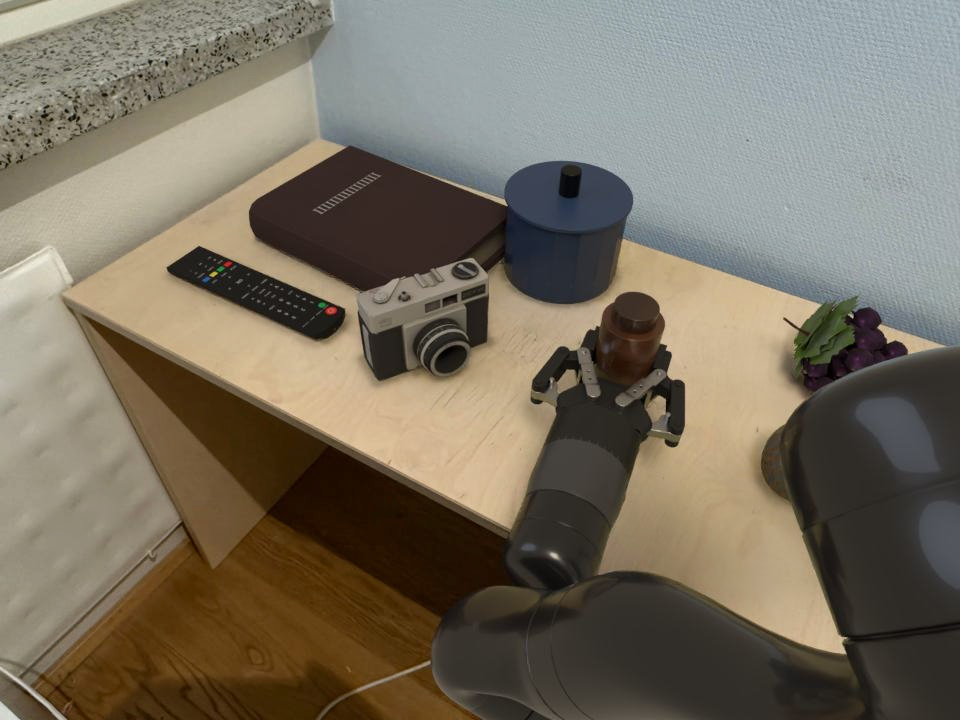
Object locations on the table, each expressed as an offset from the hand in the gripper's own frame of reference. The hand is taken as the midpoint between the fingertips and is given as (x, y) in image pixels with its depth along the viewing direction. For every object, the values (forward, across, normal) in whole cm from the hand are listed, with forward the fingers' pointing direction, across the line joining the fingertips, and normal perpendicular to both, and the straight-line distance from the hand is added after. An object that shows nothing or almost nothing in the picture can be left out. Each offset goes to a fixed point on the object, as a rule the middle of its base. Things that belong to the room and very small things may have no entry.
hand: (629, 341), depth 65 cm
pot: (+18, +12, +8) cm, 23 cm away
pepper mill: (-2, 0, +7) cm, 7 cm away
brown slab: (+14, +35, +8) cm, 38 cm away
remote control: (-2, +44, +8) cm, 45 cm away
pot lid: (+18, +12, -3) cm, 22 cm away
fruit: (+10, -21, +8) cm, 25 cm away
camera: (-3, +20, +8) cm, 22 cm away
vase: (-4, -18, +8) cm, 20 cm away
